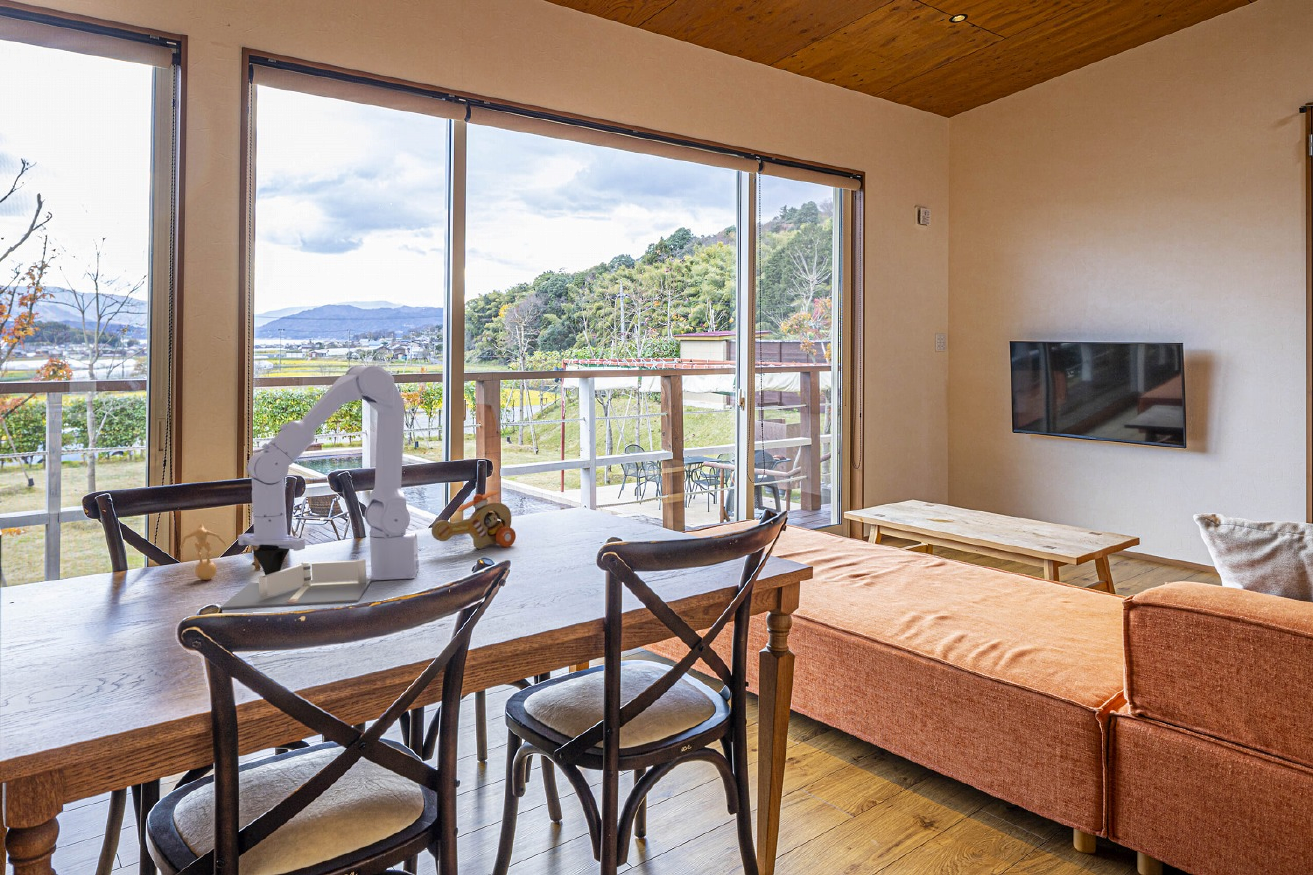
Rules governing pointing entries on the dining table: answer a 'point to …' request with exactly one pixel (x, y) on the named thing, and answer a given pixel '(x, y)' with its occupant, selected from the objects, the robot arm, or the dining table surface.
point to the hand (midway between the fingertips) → (273, 583)
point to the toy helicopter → (480, 523)
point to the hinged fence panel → (281, 581)
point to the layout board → (300, 595)
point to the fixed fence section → (335, 571)
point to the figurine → (204, 568)
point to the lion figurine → (256, 562)
